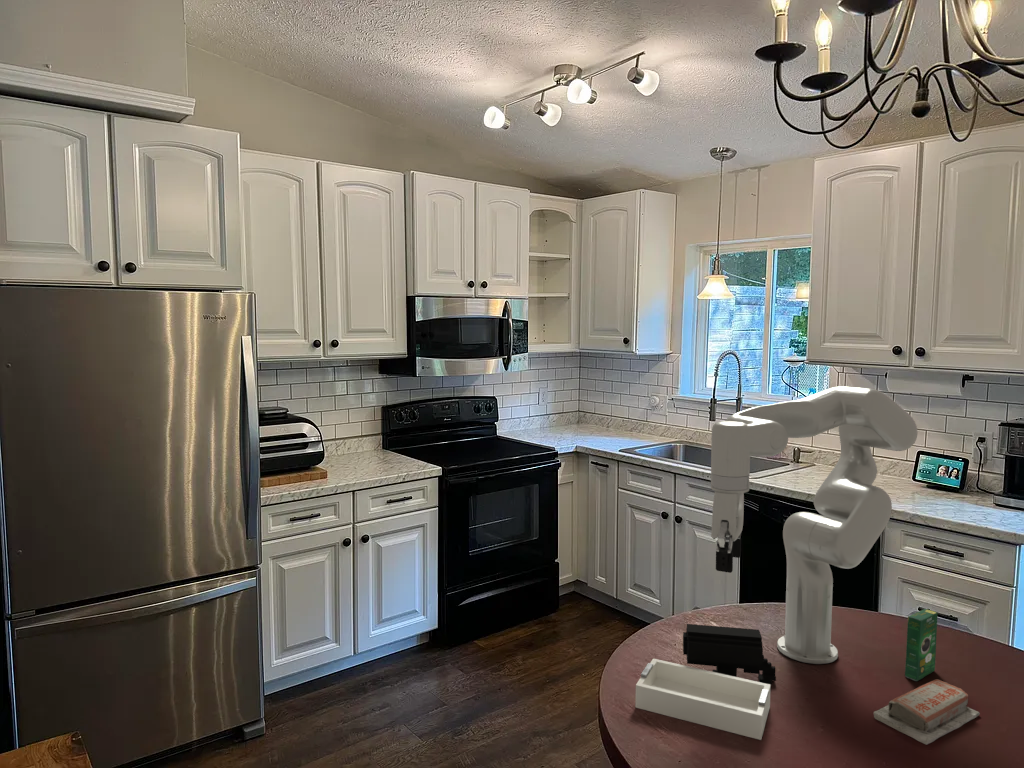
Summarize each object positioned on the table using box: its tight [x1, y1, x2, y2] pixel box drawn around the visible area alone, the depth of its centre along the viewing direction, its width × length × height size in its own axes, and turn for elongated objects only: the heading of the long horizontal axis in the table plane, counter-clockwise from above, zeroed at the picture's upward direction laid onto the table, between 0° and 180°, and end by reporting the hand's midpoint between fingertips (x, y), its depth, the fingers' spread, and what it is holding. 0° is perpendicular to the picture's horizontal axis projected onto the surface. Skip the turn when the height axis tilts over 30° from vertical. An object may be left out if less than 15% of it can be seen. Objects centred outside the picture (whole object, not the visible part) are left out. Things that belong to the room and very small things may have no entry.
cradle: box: [634, 658, 772, 741], centre depth 132 cm, size 12×23×5 cm, turn 63°
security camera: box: [682, 623, 777, 685], centre depth 143 cm, size 7×18×10 cm, turn 79°
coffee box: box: [904, 608, 939, 682], centre depth 144 cm, size 8×3×13 cm, turn 125°
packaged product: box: [873, 678, 981, 745], centre depth 129 cm, size 18×5×10 cm
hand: (728, 563), depth 142 cm, fingers open, 9 cm apart
